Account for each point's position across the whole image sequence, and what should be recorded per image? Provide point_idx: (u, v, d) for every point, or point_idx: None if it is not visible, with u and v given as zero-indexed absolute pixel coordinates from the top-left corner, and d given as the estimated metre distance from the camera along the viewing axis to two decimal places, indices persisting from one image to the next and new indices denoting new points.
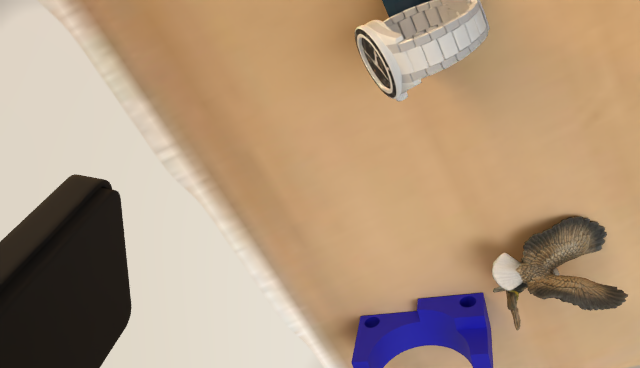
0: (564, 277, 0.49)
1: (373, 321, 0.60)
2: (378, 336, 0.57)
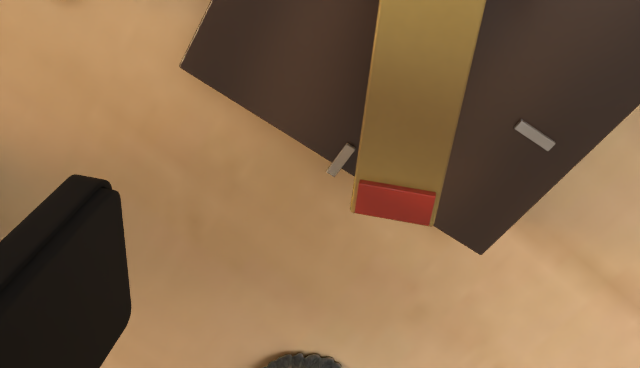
0: None
1: None
2: None
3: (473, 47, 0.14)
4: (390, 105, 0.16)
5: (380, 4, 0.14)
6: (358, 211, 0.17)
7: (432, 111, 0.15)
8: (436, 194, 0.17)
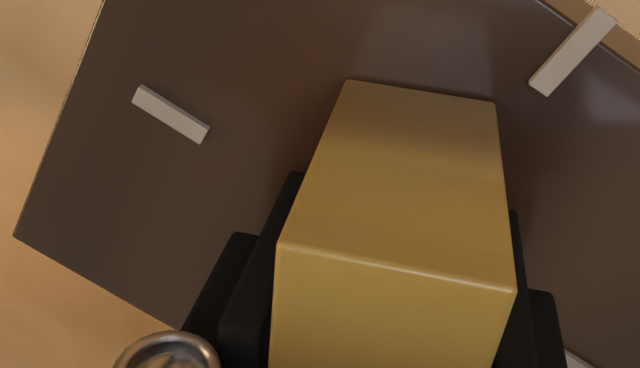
0: None
1: None
2: None
3: None
4: None
5: (277, 281, 0.06)
6: None
7: None
8: None
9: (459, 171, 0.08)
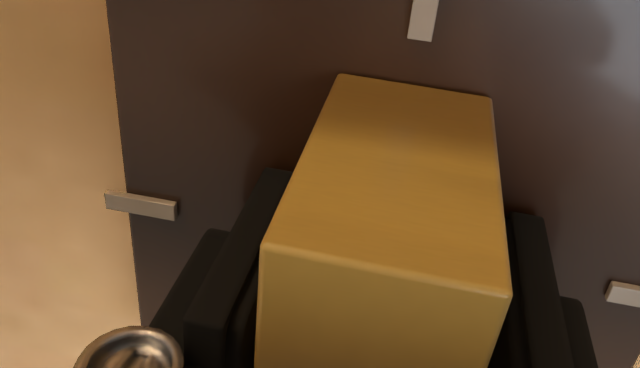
0: None
1: None
2: None
3: None
4: None
5: (261, 285, 0.06)
6: None
7: None
8: None
9: (453, 168, 0.07)
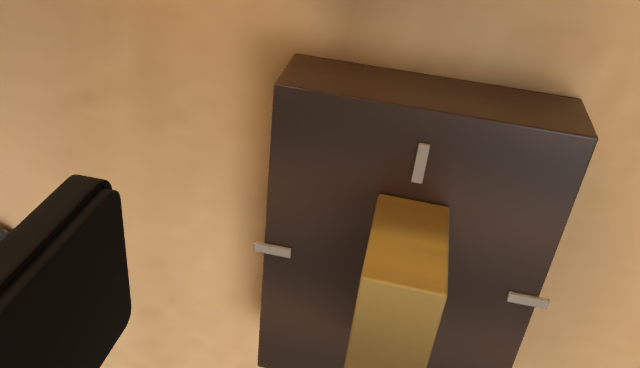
0: None
1: None
2: None
3: (436, 327, 0.17)
4: (367, 358, 0.18)
5: (359, 291, 0.17)
6: None
7: (403, 366, 0.18)
8: None
9: (429, 245, 0.18)
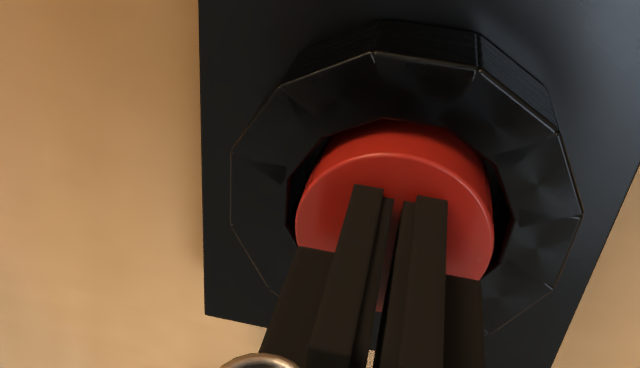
0: None
1: None
2: None
3: None
4: None
5: None
6: None
7: None
8: None
9: None
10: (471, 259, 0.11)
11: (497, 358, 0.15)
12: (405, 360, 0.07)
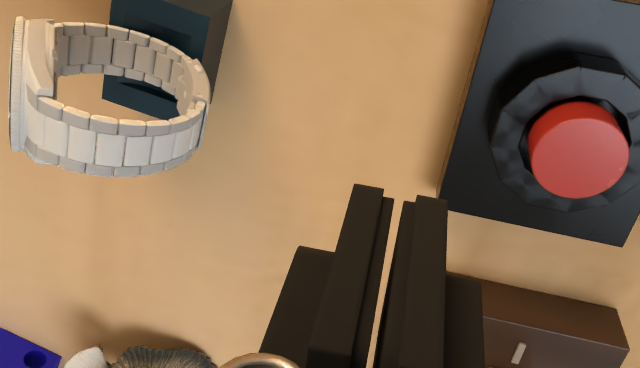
0: None
1: None
2: None
3: None
4: None
5: None
6: None
7: None
8: None
9: None
10: (617, 169, 0.24)
11: (600, 230, 0.29)
12: (405, 360, 0.07)
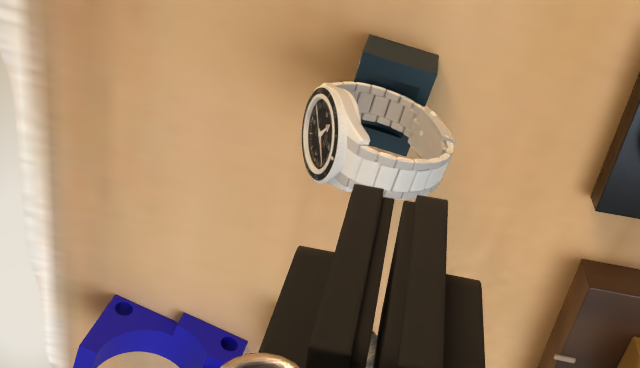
0: None
1: (125, 306, 0.53)
2: (122, 329, 0.50)
3: None
4: None
5: None
6: None
7: None
8: None
9: None
10: None
11: None
12: (406, 360, 0.07)
